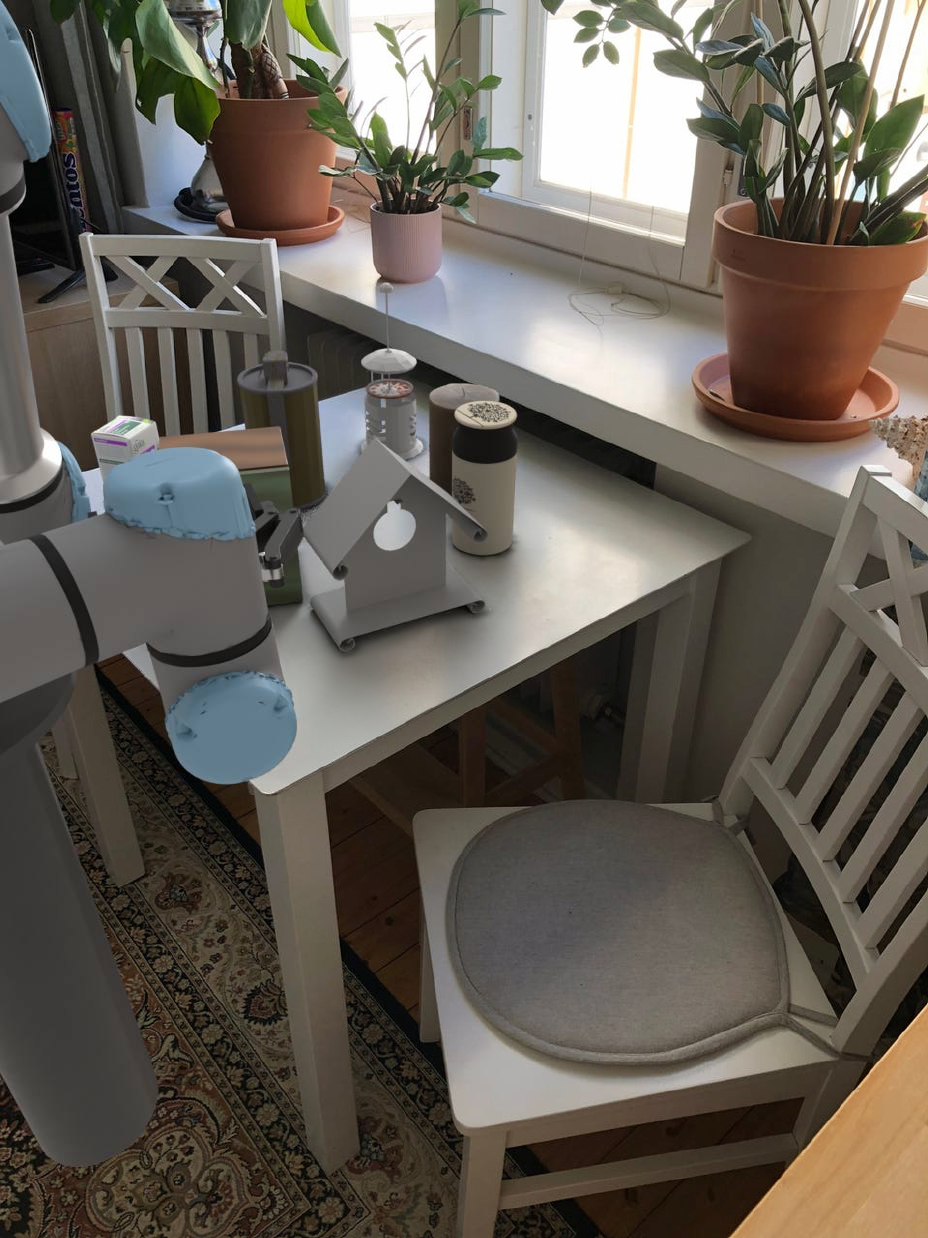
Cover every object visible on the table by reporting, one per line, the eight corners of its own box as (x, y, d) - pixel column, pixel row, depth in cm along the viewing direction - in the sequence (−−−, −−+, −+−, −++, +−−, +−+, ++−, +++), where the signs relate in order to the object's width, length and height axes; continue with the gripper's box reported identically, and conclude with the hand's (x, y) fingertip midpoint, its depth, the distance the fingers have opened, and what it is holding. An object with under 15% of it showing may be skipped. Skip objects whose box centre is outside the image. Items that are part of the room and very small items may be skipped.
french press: (370, 465, 139) (361, 296, 124) (349, 434, 148) (339, 272, 133) (432, 455, 142) (430, 289, 127) (408, 425, 150) (404, 266, 136)
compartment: (302, 597, 111) (288, 464, 100) (185, 612, 108) (157, 476, 98) (294, 553, 119) (279, 426, 108) (184, 566, 116) (159, 436, 105)
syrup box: (152, 541, 121) (130, 438, 112) (114, 532, 122) (89, 430, 114) (177, 520, 125) (157, 419, 116) (139, 512, 127) (117, 413, 118)
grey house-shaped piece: (339, 653, 102) (325, 492, 90) (309, 609, 109) (293, 453, 97) (485, 610, 109) (490, 455, 97) (449, 571, 116) (450, 421, 104)
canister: (255, 477, 135) (237, 343, 123) (327, 475, 136) (316, 341, 124) (250, 515, 126) (230, 373, 115) (326, 511, 127) (315, 371, 116)
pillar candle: (450, 508, 129) (451, 406, 120) (417, 479, 135) (415, 381, 127) (509, 491, 133) (514, 392, 124) (474, 464, 139) (476, 368, 131)
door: (309, 632, 105) (295, 497, 95) (185, 649, 102) (157, 512, 92) (302, 597, 110) (288, 466, 100) (185, 612, 108) (158, 479, 97)
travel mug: (494, 520, 126) (499, 395, 115) (523, 548, 120) (531, 419, 110) (441, 533, 123) (441, 405, 112) (468, 563, 117) (471, 431, 107)
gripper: (36, 706, 65) (39, 576, 82) (375, 626, 72) (313, 521, 90) (3, 615, 61) (14, 498, 79) (365, 540, 69) (303, 448, 86)
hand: (174, 510), depth 84 cm, fingers open, 13 cm apart
